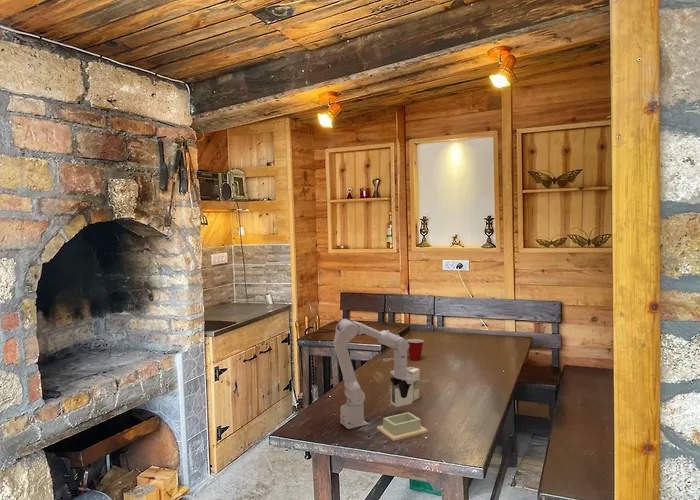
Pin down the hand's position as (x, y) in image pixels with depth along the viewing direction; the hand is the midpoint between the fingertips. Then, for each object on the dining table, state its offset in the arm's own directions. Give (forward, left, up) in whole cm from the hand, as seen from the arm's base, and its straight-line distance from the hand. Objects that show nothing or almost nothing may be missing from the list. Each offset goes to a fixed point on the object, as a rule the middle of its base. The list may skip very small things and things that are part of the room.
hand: (401, 395), depth 225 cm
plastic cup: (+53, +69, -9) cm, 88 cm away
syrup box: (+15, +15, -9) cm, 23 cm away
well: (-8, -13, -9) cm, 18 cm away
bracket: (0, 0, -4) cm, 4 cm away
